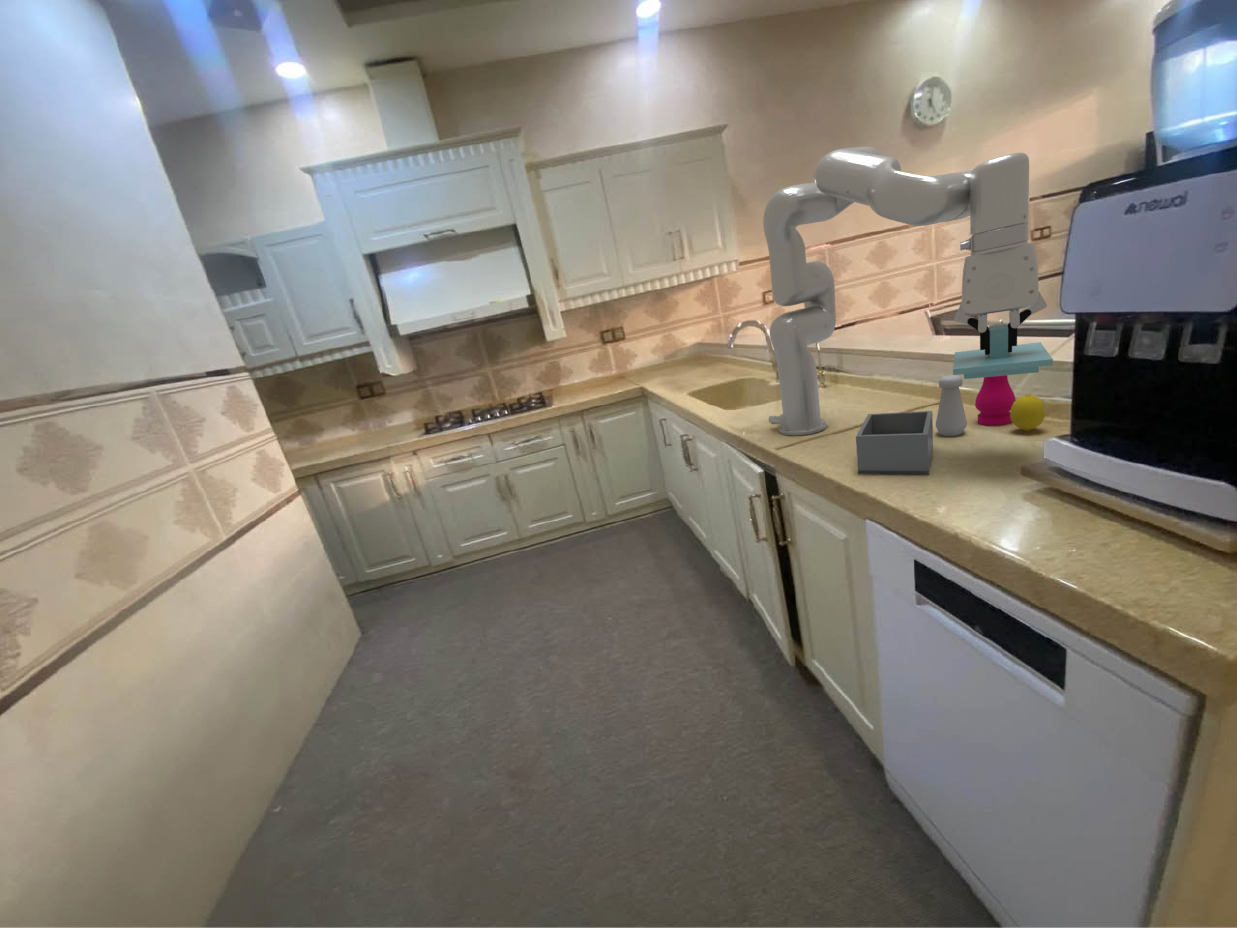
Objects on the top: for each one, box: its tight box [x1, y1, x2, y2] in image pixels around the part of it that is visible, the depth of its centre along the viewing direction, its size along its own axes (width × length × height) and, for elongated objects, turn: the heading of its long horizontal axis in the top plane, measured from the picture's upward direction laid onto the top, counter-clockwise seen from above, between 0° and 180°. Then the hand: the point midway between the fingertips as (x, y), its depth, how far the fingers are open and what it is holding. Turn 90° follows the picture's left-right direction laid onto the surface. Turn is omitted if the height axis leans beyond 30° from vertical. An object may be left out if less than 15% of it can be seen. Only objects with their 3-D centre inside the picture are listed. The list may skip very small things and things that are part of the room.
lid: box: [952, 322, 1054, 380], centre depth 86 cm, size 13×17×7 cm
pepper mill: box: [974, 375, 1017, 426], centre depth 108 cm, size 7×7×20 cm
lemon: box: [1009, 393, 1046, 432], centre depth 100 cm, size 6×6×8 cm
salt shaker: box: [935, 374, 968, 437], centre depth 107 cm, size 6×6×13 cm
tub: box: [855, 410, 934, 476], centre depth 100 cm, size 12×16×8 cm
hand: (998, 351), depth 86 cm, fingers closed on lid, 2 cm apart
